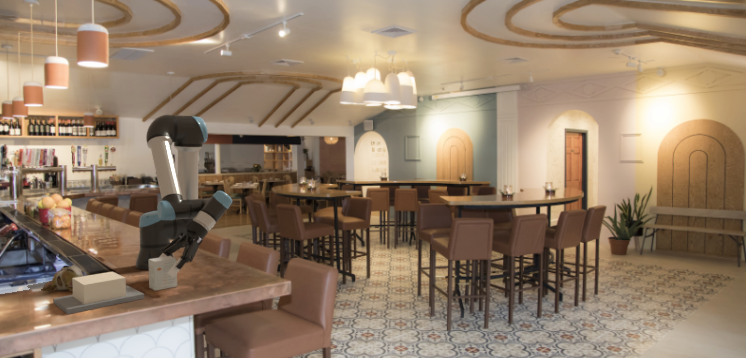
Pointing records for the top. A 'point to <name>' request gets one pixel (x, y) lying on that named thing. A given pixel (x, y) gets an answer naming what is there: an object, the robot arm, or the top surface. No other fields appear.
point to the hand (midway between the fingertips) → (161, 272)
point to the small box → (161, 273)
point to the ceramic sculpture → (63, 279)
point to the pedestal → (97, 293)
